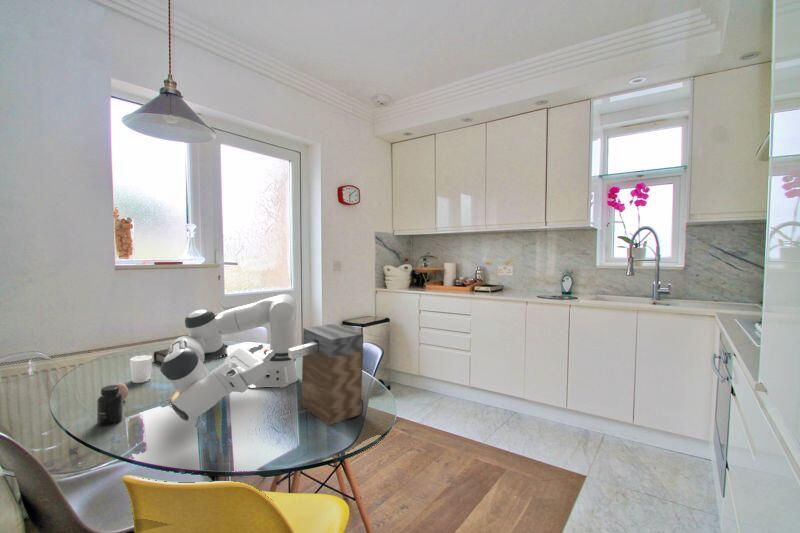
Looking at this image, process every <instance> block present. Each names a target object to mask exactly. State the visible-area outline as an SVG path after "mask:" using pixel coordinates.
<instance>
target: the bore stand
mask: <svg viewBox="0 0 800 533" xmlns="http://www.w3.org/2000/svg"><path fill="white" fill-rule="evenodd" d="M302 330H303V331H302V333H303V335H302V336H303V337H302V345H304V344H307V343H311V342H314V341H319V351H318V352H315V353H312V354H308V355H305V356H302V370H301V371H302V373H301V376H302V377H301V406H302V405H303V406H304V407H305V408H304V407H303V406H302V407H303V408H304V409H306V408H307V409H308V410H309V411H308V410H307V409H306V410H307V411H308V412H310V411H311V412H312V413H313V414H312V413H311V412H310V413H311V414H312V415H314V416H315V417H317V418H318V420H320V421H322V422H323V423H324V422H325V423H324V424H325V425H327V424H328V425H329V426H331V425H330V424H332V425H334V423H335V424H337V422H338V423H340V422H343V421H345V420H348V419H351V418H353V417H357V416H359V415H361V414H362V411H361V410H362V388H363V386H362V385H363V383H362V382H363V364H364V363H363V358H364V356H363V355H364V333H361V332H359V331H356V330H354V329H350V328H347V327H345V326H343V325H339V324H336V323H331V324H323V325H316V326H310V327H303V329H302ZM328 425H327V426H328Z"/></svg>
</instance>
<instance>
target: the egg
mask: <svg viewBox="0 0 800 533" xmlns="http://www.w3.org/2000/svg"><path fill="white" fill-rule="evenodd" d="M114 385H118V386H119V392H118V393H121V394H122V396H123V401H124V400H125V399H126V398H127V397H128V394H129V388H128V386H127V385H126V384H125V383H124V382H117V383H115V384H114Z"/></svg>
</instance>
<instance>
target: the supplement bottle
mask: <svg viewBox="0 0 800 533" xmlns="http://www.w3.org/2000/svg"><path fill="white" fill-rule="evenodd" d="M100 389H101V390H100V396H99V397H98V398H97V401H96V403H97V404H96V423H97V425H98V426H100V425H101V426H100V427H108V426H107V425H109V426H113V425H115V423H116V424H117V423H120V422H121V421H122V420H123V409H124V408H123V402H124V400H123V396H122V394H121V393H118V392H119V386H118V385H115V384H111V385H107V386H104V387H102V388H100ZM112 424H113V425H112Z"/></svg>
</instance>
